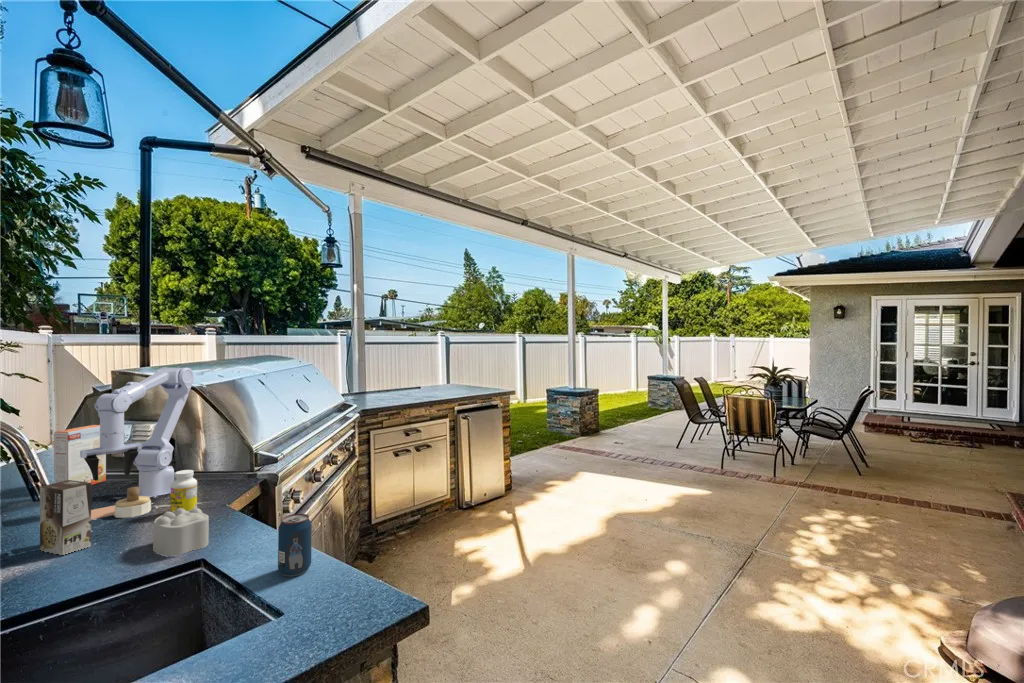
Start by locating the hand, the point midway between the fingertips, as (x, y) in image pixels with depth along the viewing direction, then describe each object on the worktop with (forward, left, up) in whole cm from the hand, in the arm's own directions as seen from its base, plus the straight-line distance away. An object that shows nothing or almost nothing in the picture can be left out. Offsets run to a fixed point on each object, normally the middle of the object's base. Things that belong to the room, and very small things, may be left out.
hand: (111, 477), depth 148 cm
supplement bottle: (-13, +21, -10) cm, 27 cm away
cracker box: (+2, -38, -10) cm, 40 cm away
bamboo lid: (-3, +9, -7) cm, 12 cm away
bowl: (-3, +10, -10) cm, 14 cm away
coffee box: (+14, +27, -10) cm, 32 cm away
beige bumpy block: (-5, +46, -10) cm, 47 cm away
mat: (+3, +3, -10) cm, 11 cm away
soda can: (-18, +81, -10) cm, 83 cm away
